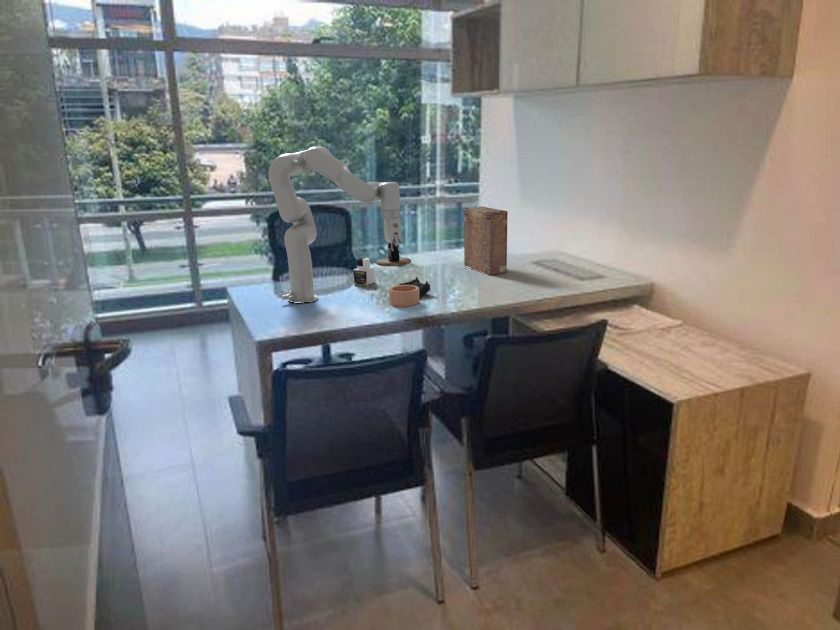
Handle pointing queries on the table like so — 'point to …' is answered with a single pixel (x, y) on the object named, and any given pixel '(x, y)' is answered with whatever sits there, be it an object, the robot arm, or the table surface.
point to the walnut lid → (393, 263)
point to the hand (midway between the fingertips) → (393, 259)
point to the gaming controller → (422, 287)
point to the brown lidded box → (485, 239)
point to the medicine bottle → (363, 272)
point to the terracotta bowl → (404, 295)
